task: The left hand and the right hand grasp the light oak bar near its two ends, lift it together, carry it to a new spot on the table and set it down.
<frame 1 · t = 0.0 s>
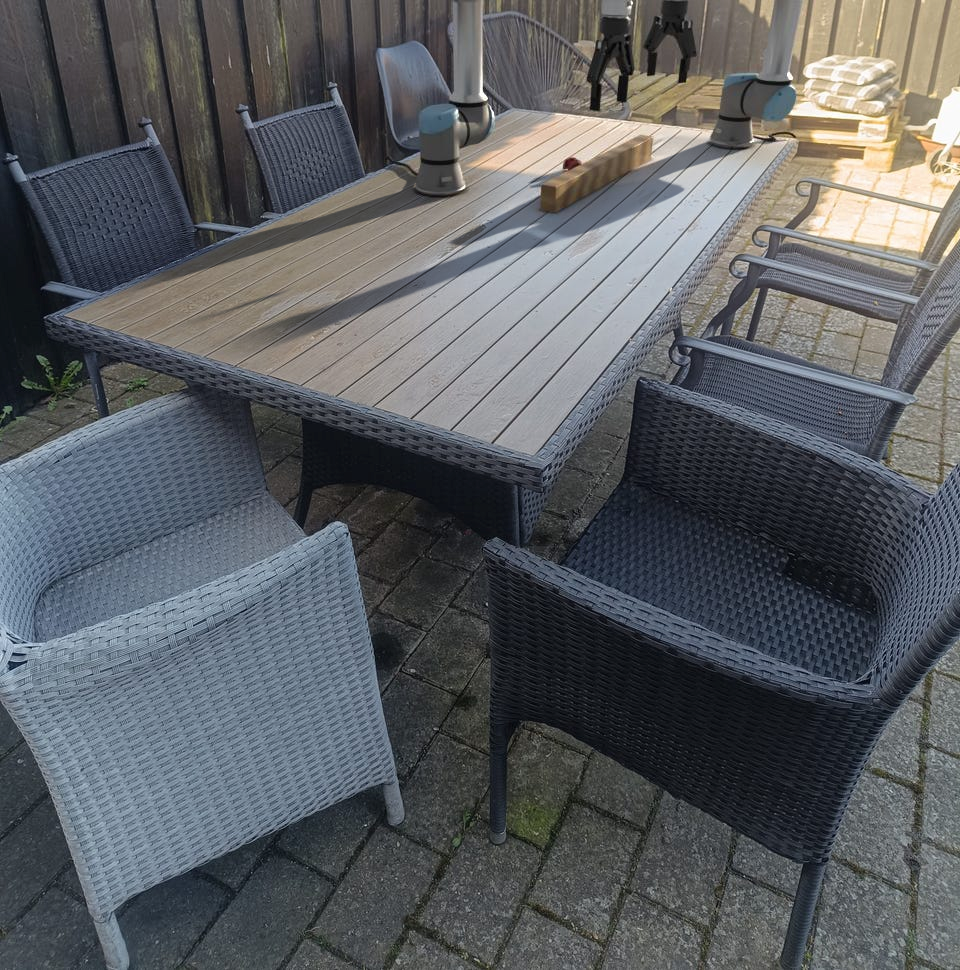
left hand: (608, 106, 226), 28 cm above the table, tool pointing down, fingers open, 13 cm apart
right hand: (666, 79, 256), 28 cm above the table, tool pointing down, fingers open, 13 cm apart
bar: (600, 182, 265), on the table
dark red lumpy piece: (573, 171, 275), on the table
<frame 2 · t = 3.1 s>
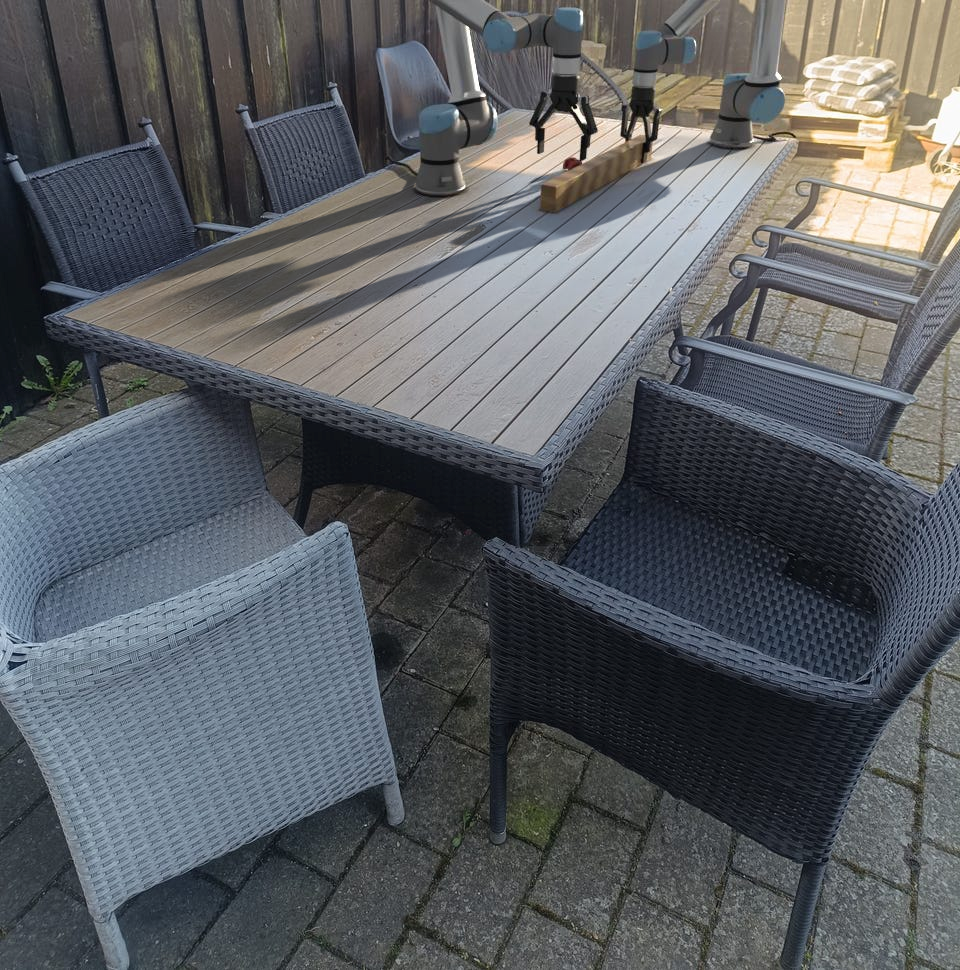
left hand: (561, 156, 238), 14 cm above the table, tool pointing down, fingers open, 13 cm apart
right hand: (636, 160, 283), 1 cm above the table, tool pointing down, fingers closed on bar, 5 cm apart
bar: (600, 182, 265), on the table, touching right hand
everything else where it was.
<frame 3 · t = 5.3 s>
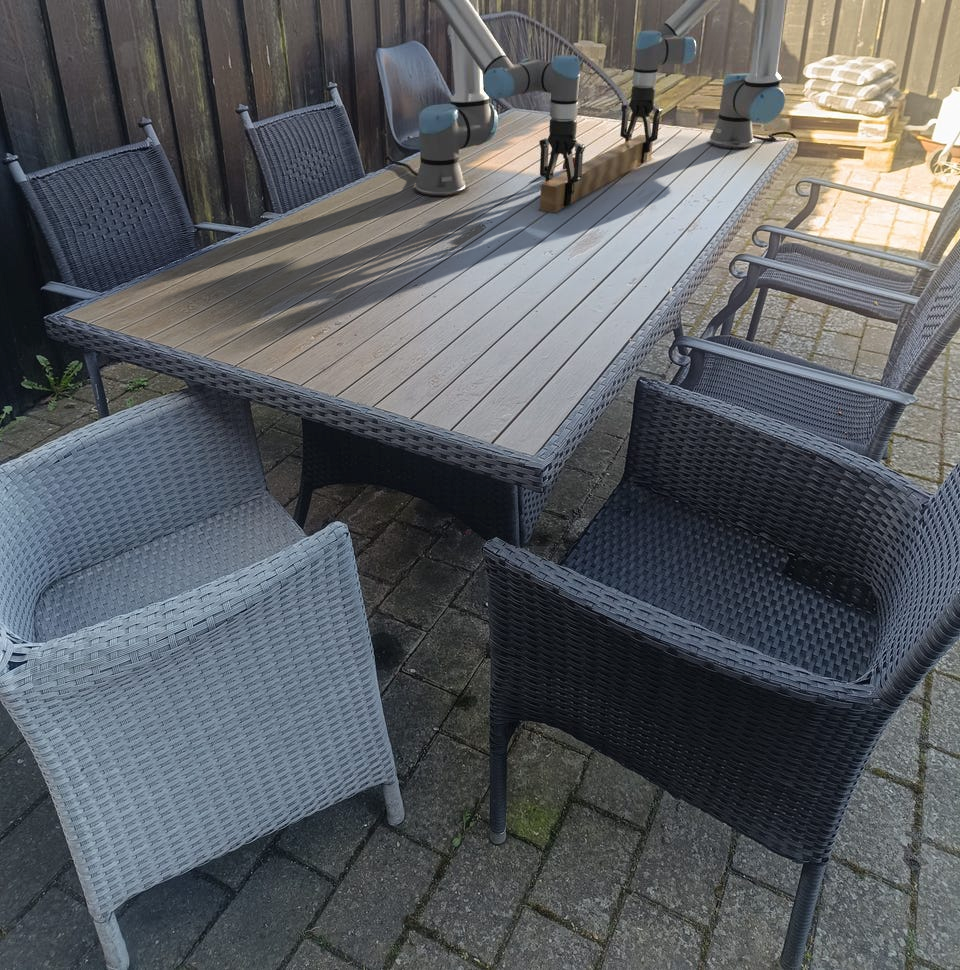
left hand: (558, 203, 246), 1 cm above the table, tool pointing down, fingers closed on bar, 5 cm apart
right hand: (636, 160, 283), 1 cm above the table, tool pointing down, fingers closed on bar, 5 cm apart
bar: (600, 182, 265), on the table, touching left hand, right hand
everything else where it was.
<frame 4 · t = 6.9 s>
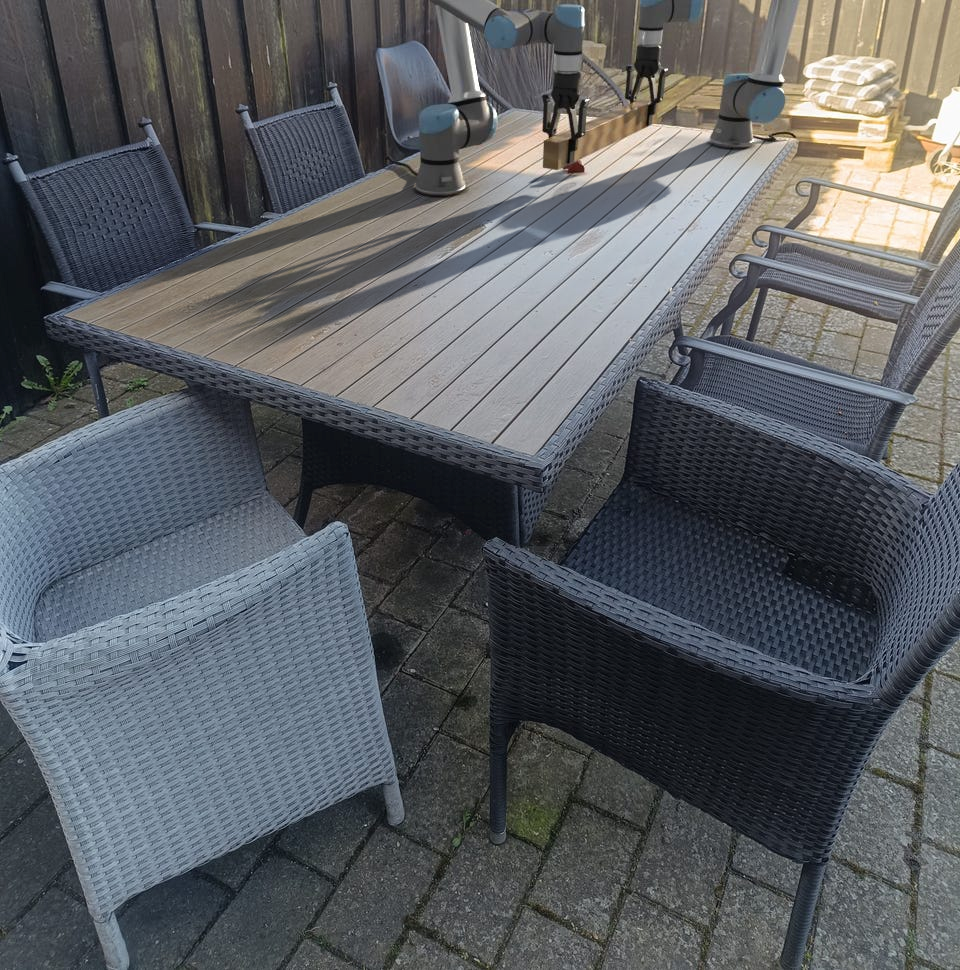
left hand: (562, 160, 239), 12 cm above the table, tool pointing down, fingers closed on bar, 5 cm apart
right hand: (641, 123, 276), 12 cm above the table, tool pointing down, fingers closed on bar, 5 cm apart
bar: (604, 143, 258), point 12 cm above the table, touching left hand, right hand
everything else where it was.
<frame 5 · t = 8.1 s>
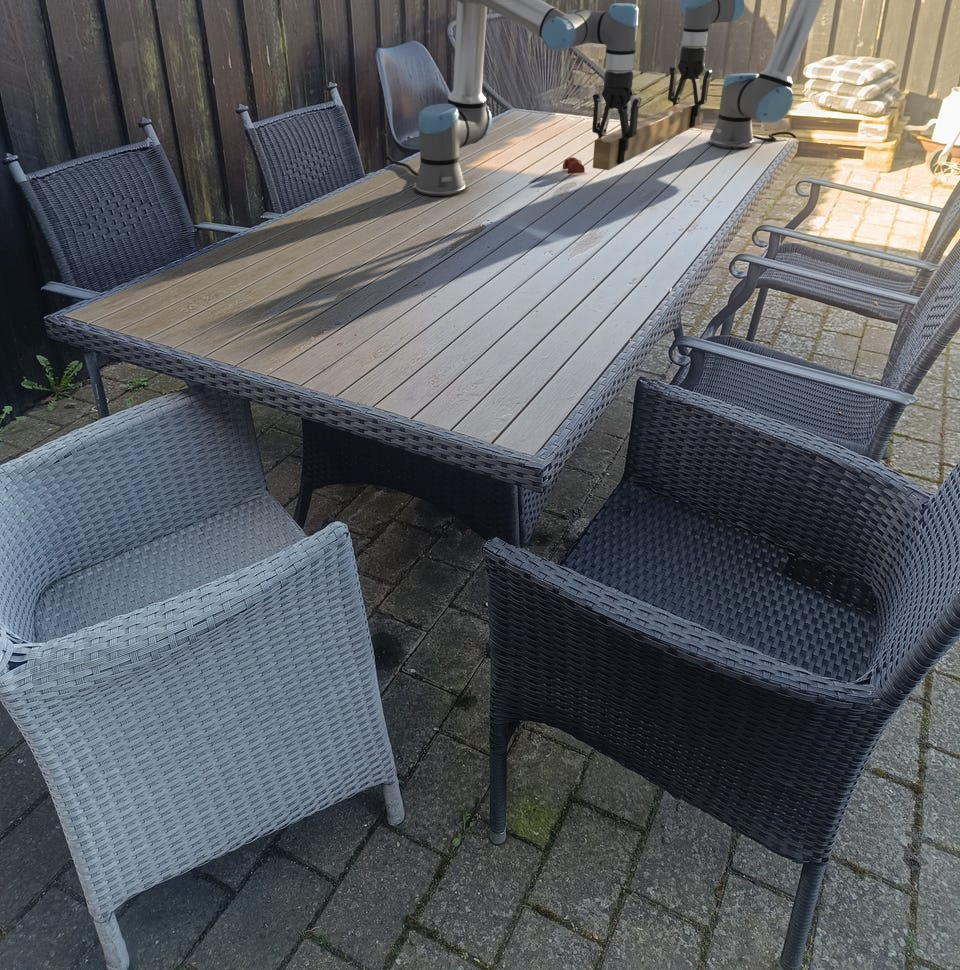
left hand: (611, 161, 237), 13 cm above the table, tool pointing down, fingers closed on bar, 5 cm apart
right hand: (683, 125, 275), 12 cm above the table, tool pointing down, fingers closed on bar, 5 cm apart
bar: (650, 144, 256), point 12 cm above the table, touching left hand, right hand
everything else where it was.
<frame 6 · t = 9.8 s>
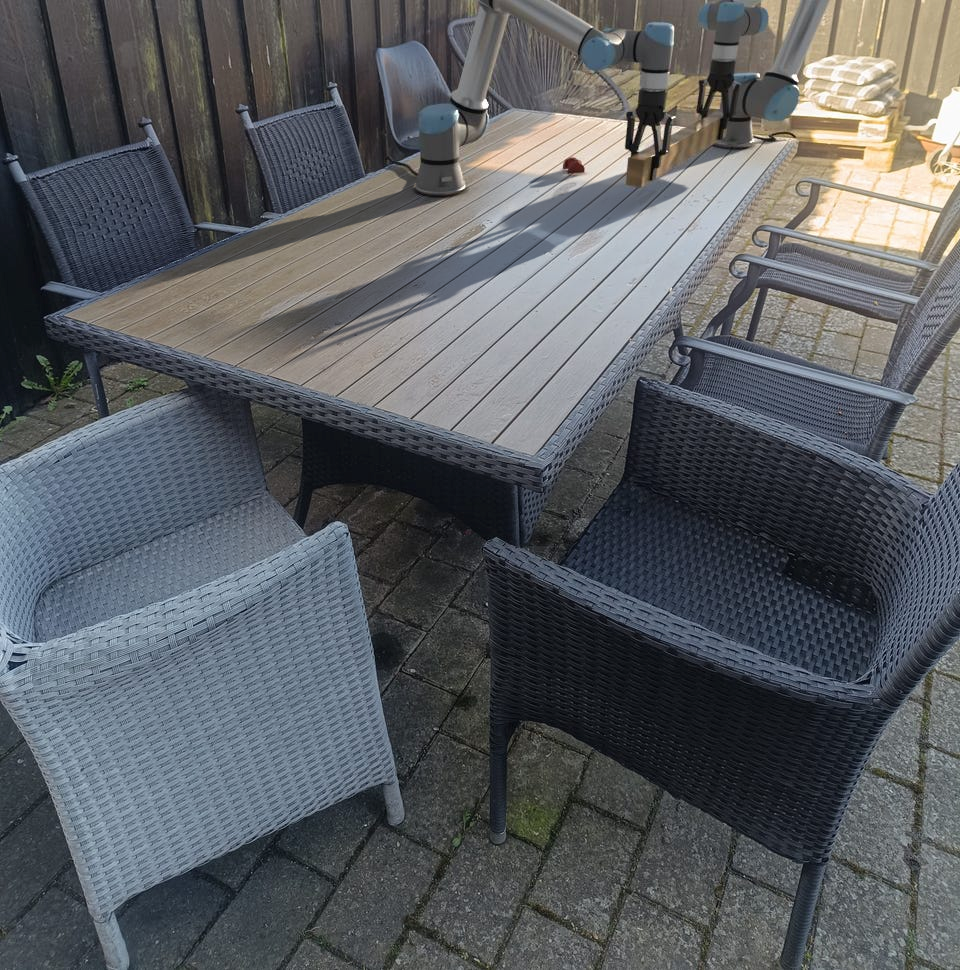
left hand: (643, 177, 238), 9 cm above the table, tool pointing down, fingers closed on bar, 5 cm apart
right hand: (711, 137, 276), 9 cm above the table, tool pointing down, fingers closed on bar, 5 cm apart
bar: (679, 158, 257), point 8 cm above the table, touching left hand, right hand
everything else where it was.
when the left hand's fingers open (2 cm above the table, at t = 10.9 s): bar drops 2 cm, on the table.
when the right hand's fingers open (2 cm above the table, at t = 10.9 s): bar drops 2 cm, on the table.
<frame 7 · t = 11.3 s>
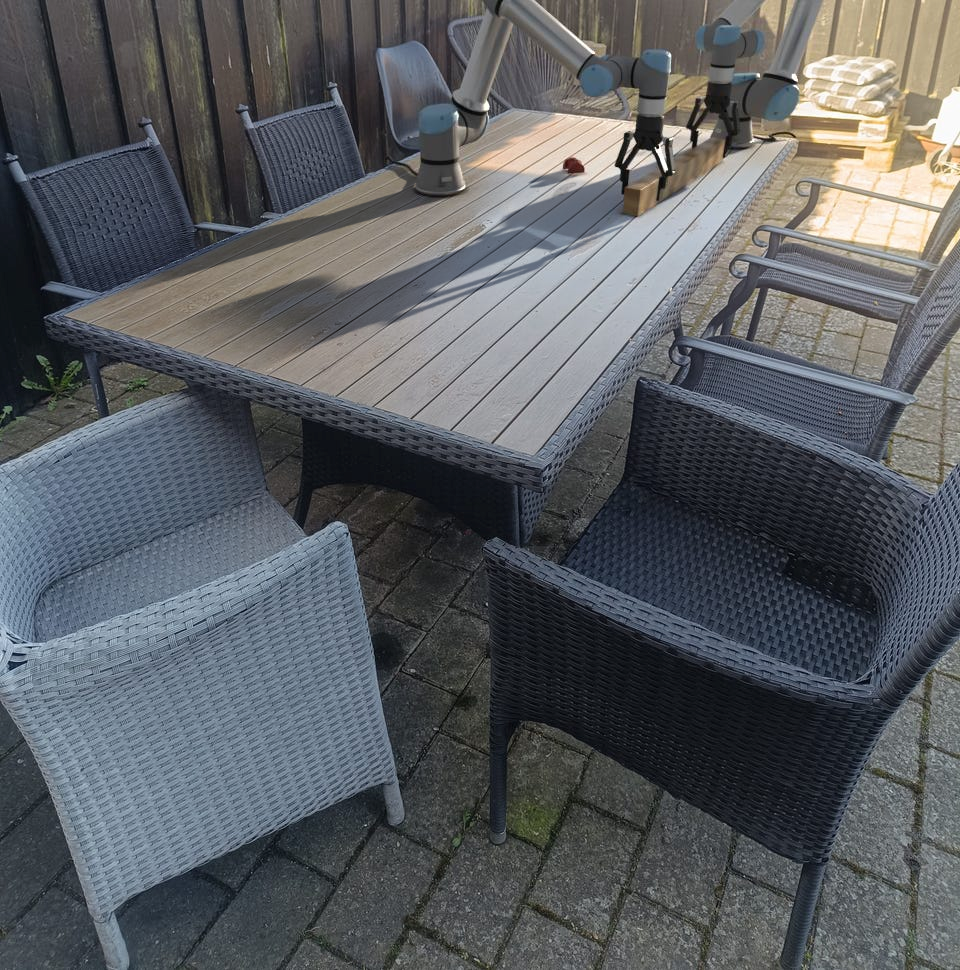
left hand: (641, 196, 241), 3 cm above the table, tool pointing down, fingers open, 10 cm apart
right hand: (709, 154, 279), 3 cm above the table, tool pointing down, fingers open, 10 cm apart
bar: (676, 185, 262), on the table
everything else where it was.
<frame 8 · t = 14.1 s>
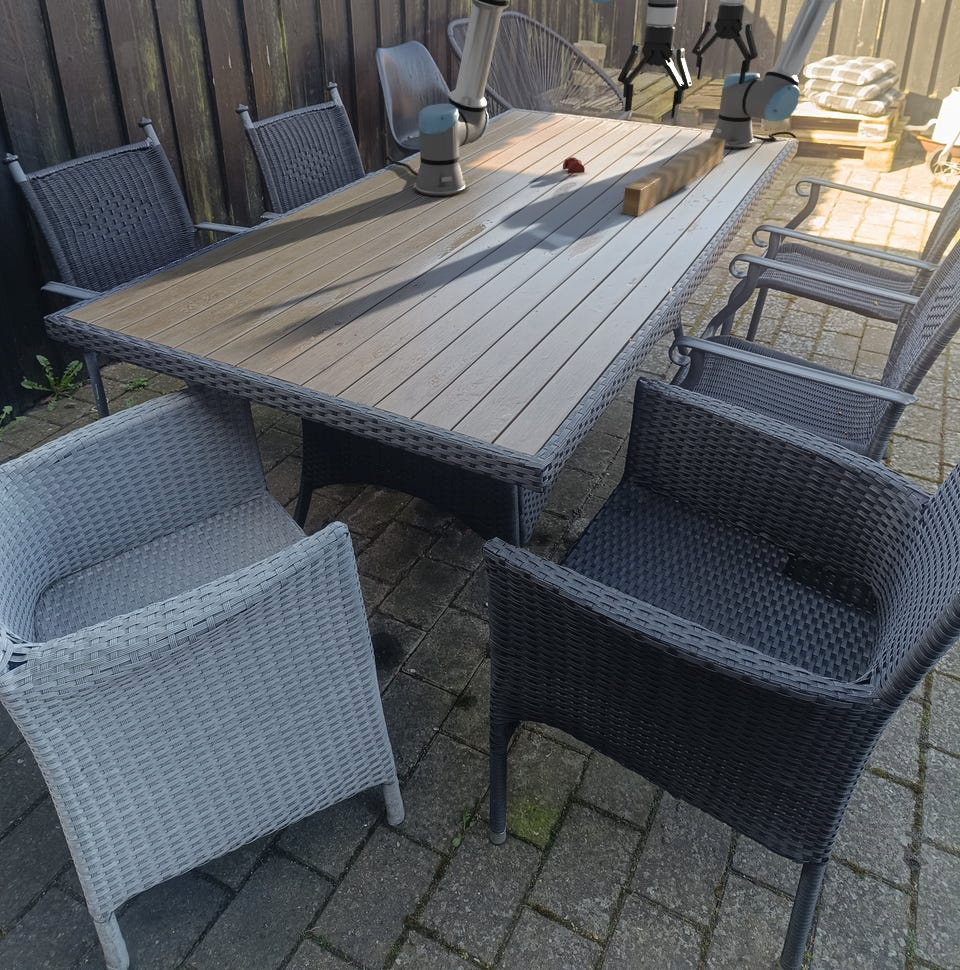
left hand: (650, 113, 228), 26 cm above the table, tool pointing down, fingers open, 13 cm apart
right hand: (720, 81, 266), 26 cm above the table, tool pointing down, fingers open, 13 cm apart
nothing on the table moved.
at the end: bar inside the target area (0.1 cm from its centre), on the table; bar tilted 0°; bar never tilted more than 1° during the clip; both hands held the bar at the same time; the left hand is holding nothing; the right hand is holding nothing; bar at rest at the end (0.0 cm/s) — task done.
